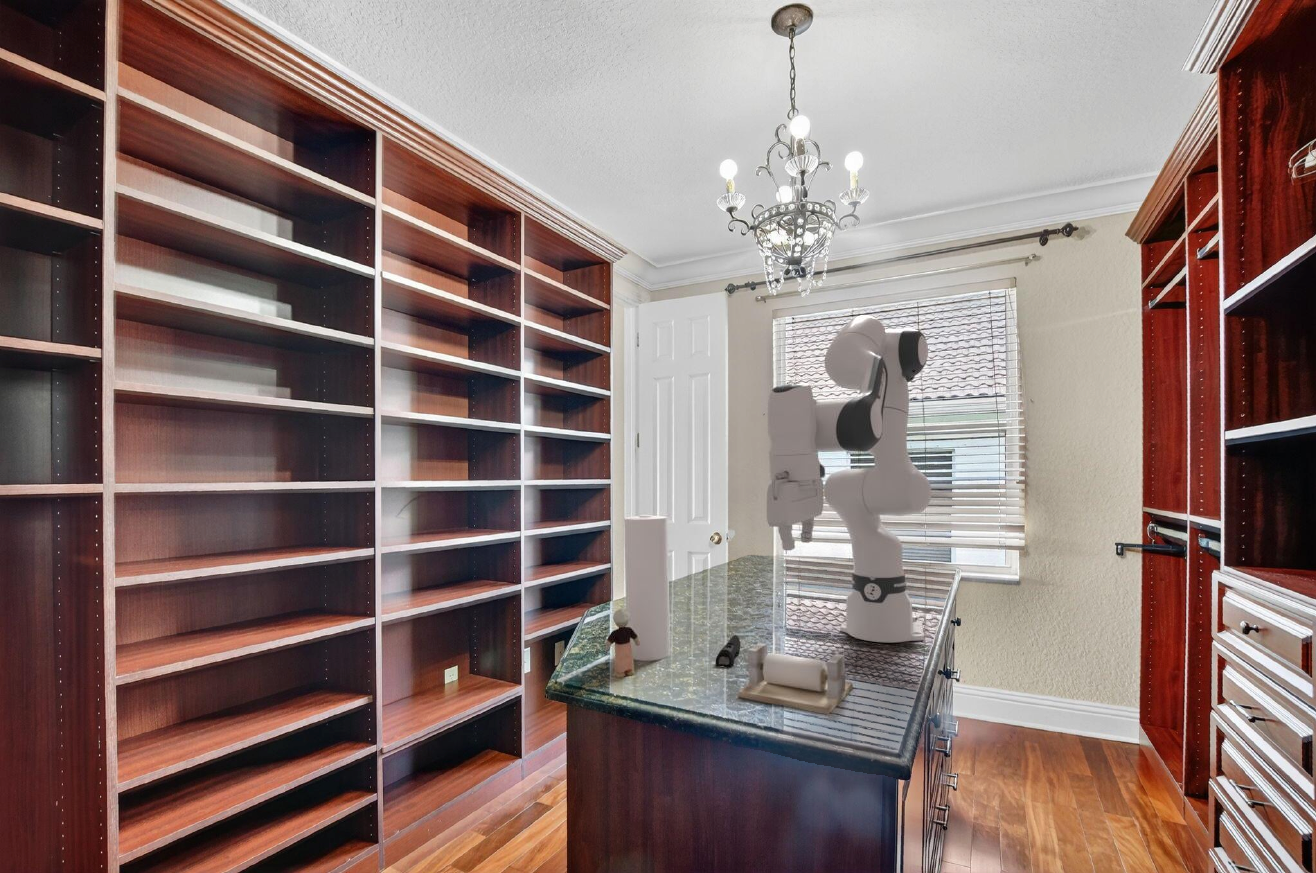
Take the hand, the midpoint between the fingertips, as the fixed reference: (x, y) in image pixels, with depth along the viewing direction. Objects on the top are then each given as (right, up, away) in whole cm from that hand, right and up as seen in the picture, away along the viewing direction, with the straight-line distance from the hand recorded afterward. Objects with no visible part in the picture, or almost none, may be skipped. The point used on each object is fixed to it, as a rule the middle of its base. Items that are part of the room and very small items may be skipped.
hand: (798, 545), depth 116 cm
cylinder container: (-28, -27, +21) cm, 44 cm away
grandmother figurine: (-33, -27, +8) cm, 43 cm away
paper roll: (-1, -24, -3) cm, 24 cm away
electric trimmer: (-11, -27, +18) cm, 35 cm away
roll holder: (-1, -25, -4) cm, 26 cm away
